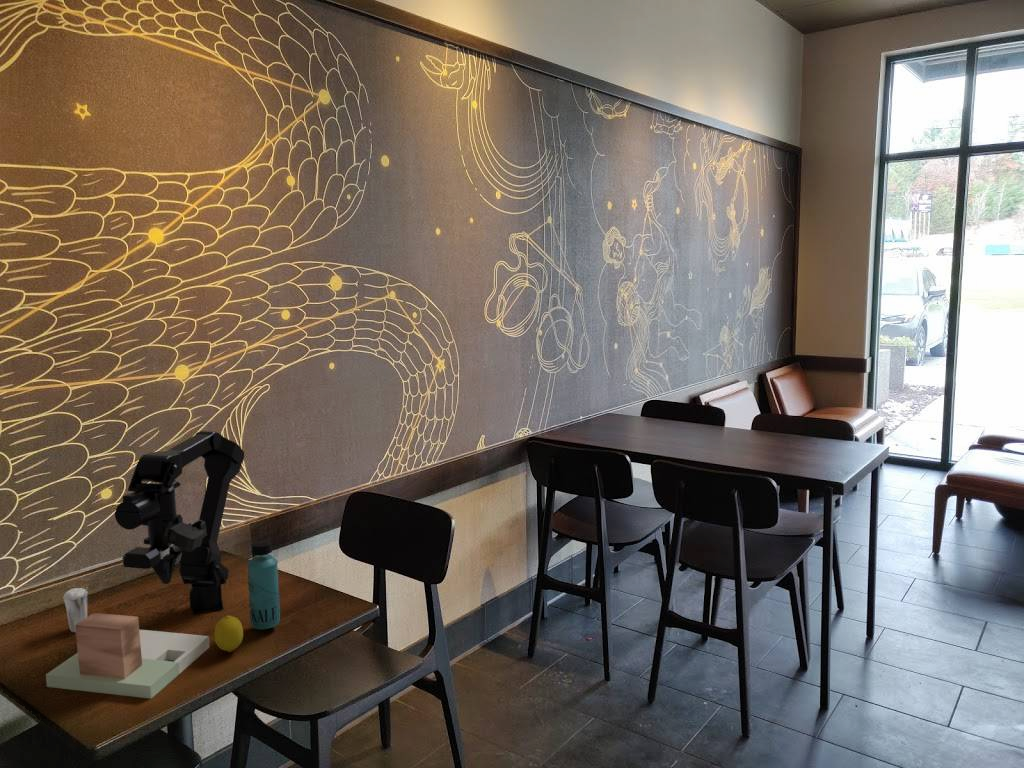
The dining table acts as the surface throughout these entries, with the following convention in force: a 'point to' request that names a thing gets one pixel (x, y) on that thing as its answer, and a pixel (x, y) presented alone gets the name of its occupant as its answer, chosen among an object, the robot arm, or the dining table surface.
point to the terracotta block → (108, 645)
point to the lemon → (228, 633)
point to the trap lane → (159, 667)
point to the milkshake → (76, 606)
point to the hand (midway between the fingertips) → (166, 583)
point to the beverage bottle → (263, 587)
